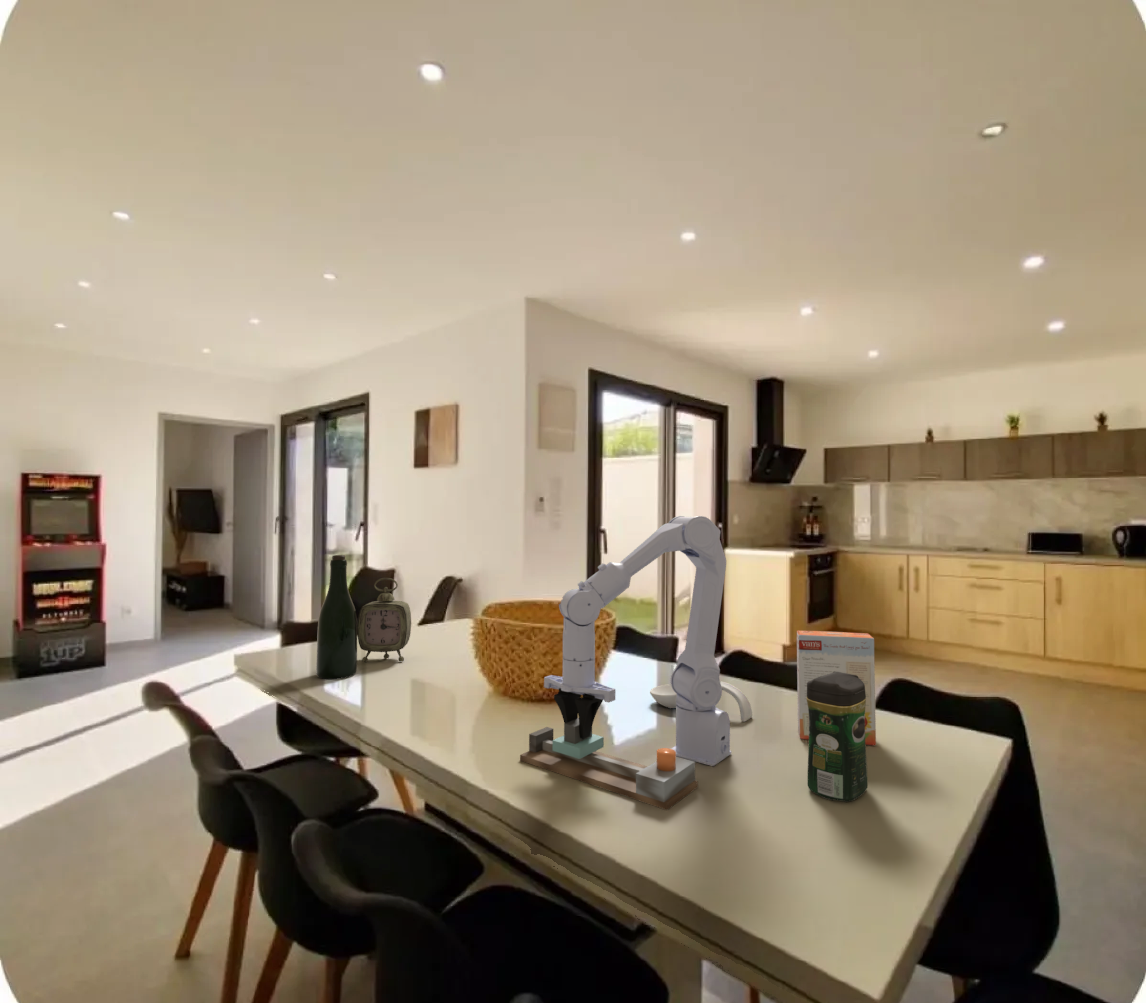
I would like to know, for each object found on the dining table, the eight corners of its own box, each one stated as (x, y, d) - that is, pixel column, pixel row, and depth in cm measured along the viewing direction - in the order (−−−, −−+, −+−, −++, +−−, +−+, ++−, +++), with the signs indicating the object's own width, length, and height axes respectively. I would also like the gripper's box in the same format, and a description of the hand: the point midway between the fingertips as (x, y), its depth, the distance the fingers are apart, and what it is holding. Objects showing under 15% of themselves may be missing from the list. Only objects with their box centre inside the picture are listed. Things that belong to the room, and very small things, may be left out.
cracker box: (870, 736, 124) (869, 632, 125) (876, 747, 118) (875, 637, 119) (796, 729, 128) (796, 628, 129) (799, 739, 122) (798, 633, 123)
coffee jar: (825, 774, 105) (825, 665, 106) (874, 790, 100) (873, 674, 100) (798, 791, 99) (798, 675, 99) (848, 809, 93) (847, 685, 94)
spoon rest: (641, 707, 143) (641, 676, 144) (664, 695, 153) (664, 666, 153) (739, 728, 130) (739, 693, 130) (758, 714, 139) (758, 682, 139)
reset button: (679, 766, 98) (679, 751, 99) (669, 773, 96) (669, 756, 96) (662, 762, 100) (662, 746, 100) (653, 768, 98) (653, 752, 98)
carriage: (603, 747, 110) (603, 720, 110) (579, 759, 104) (579, 730, 105) (576, 739, 114) (577, 713, 114) (552, 750, 108) (552, 723, 108)
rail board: (697, 787, 100) (697, 762, 100) (667, 810, 92) (667, 783, 92) (555, 744, 119) (555, 723, 119) (519, 760, 111) (519, 737, 111)
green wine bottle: (347, 680, 164) (349, 556, 165) (309, 679, 165) (311, 556, 166) (362, 670, 175) (364, 554, 176) (326, 670, 175) (328, 553, 176)
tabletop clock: (356, 664, 183) (358, 579, 183) (364, 657, 192) (365, 576, 192) (406, 663, 184) (407, 579, 184) (411, 656, 193) (413, 576, 193)
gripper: (533, 655, 111) (532, 732, 111) (598, 668, 102) (598, 751, 102) (558, 649, 116) (557, 722, 116) (622, 660, 107) (622, 739, 107)
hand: (578, 735), depth 109 cm, fingers closed on carriage, 2 cm apart
